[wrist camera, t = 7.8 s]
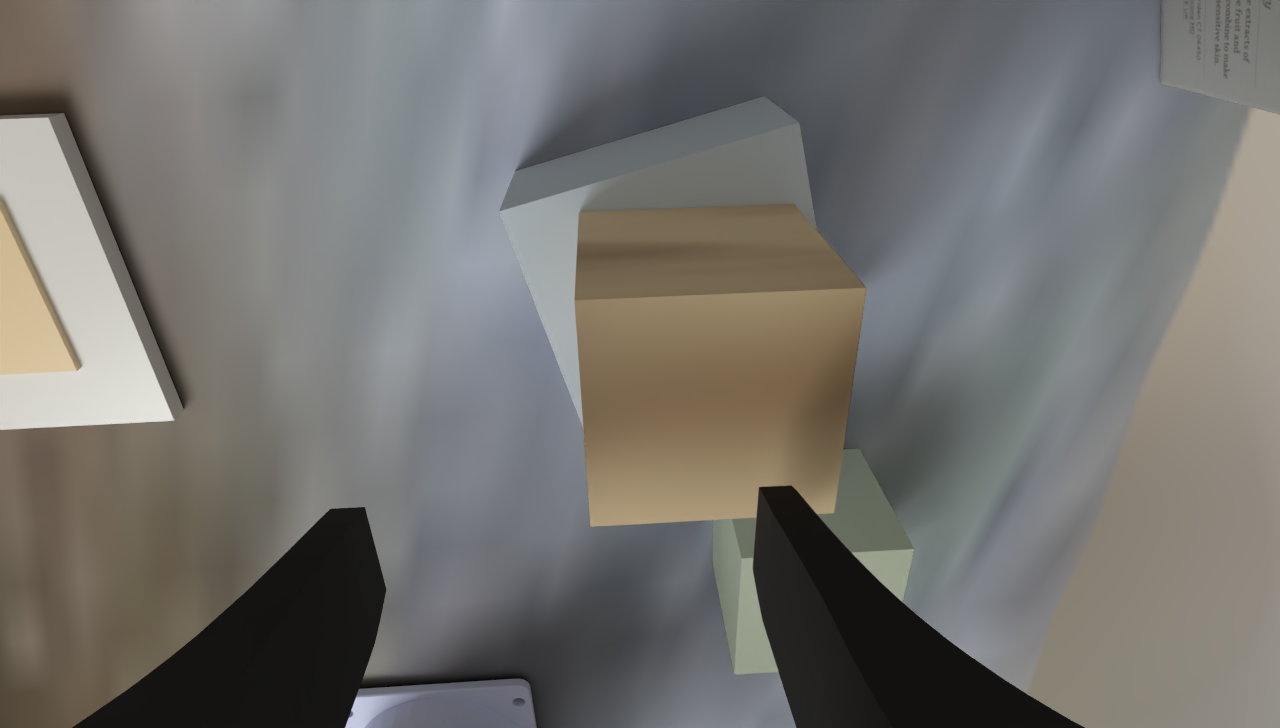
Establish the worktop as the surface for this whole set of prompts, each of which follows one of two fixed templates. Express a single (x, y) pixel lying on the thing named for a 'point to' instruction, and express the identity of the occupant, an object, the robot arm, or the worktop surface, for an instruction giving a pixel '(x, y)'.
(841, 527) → the sage block
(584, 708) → the worktop surface
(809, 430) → the maple block
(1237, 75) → the skincare box
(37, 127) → the card
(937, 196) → the worktop surface
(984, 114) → the worktop surface
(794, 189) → the blue-grey base block
